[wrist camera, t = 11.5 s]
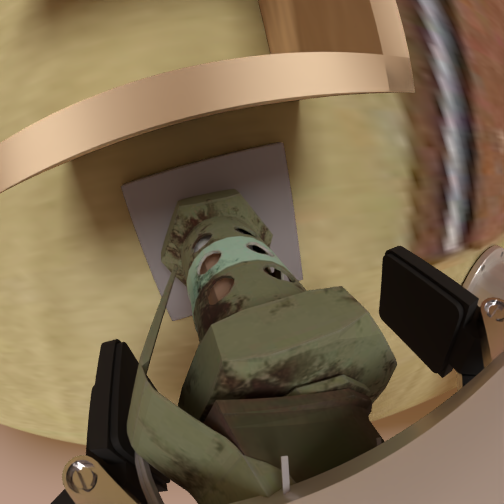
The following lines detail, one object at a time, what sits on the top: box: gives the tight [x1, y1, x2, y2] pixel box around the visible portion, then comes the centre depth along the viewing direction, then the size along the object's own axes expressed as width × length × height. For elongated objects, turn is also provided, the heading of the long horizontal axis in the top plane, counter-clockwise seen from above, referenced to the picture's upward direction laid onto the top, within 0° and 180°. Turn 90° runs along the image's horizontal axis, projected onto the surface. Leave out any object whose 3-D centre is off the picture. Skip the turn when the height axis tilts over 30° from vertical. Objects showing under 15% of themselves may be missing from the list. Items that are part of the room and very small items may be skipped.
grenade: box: [127, 189, 397, 504], centre depth 10 cm, size 7×7×15 cm
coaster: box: [121, 142, 303, 321], centre depth 17 cm, size 9×9×1 cm
